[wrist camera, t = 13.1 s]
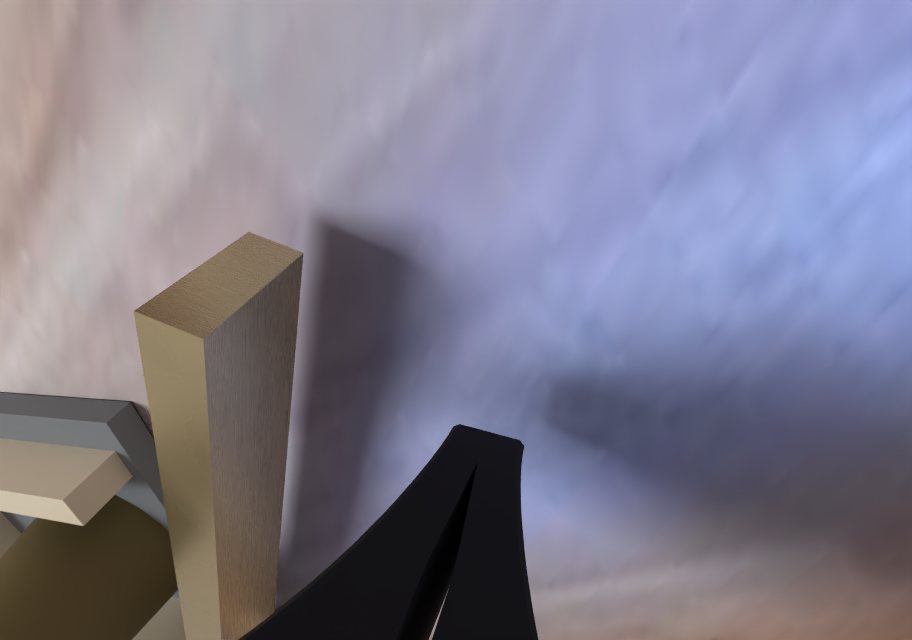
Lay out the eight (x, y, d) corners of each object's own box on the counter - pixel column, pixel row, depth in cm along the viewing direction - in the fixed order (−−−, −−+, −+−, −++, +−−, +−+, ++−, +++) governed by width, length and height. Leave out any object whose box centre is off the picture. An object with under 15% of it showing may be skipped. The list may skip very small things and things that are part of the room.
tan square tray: (269, 620, 24) (228, 693, 22) (64, 574, 28) (10, 630, 26) (130, 401, 18) (49, 471, 15) (-110, 384, 22) (-202, 436, 20)
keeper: (273, 663, 23) (232, 743, 21) (241, 648, 23) (195, 726, 21) (313, 256, 10) (215, 344, 8) (239, 228, 11) (122, 306, 8)
